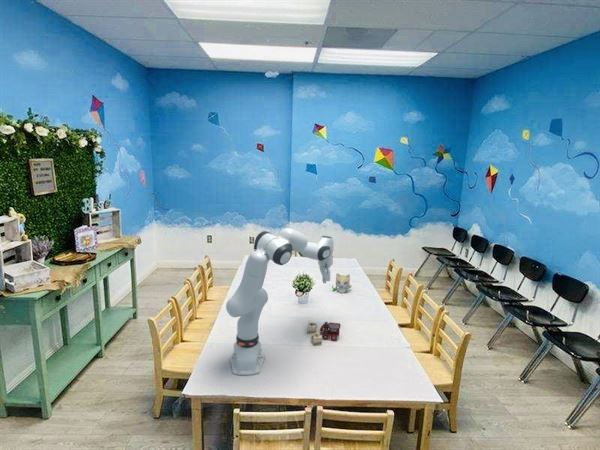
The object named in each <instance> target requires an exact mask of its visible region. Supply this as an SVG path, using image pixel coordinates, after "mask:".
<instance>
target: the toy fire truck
mask: <svg viewBox="0 0 600 450" xmlns="http://www.w3.org/2000/svg"><path fill="white" fill-rule="evenodd" d="M340 329H341V323H340V322H328V321H325V322H324V323H323V324H322V325H321V327H320V328H319V333H320V335H321V337H322V340H328V339H329V338H330V341H332V342H335V341H337V340H338V338H339V337H340Z"/></svg>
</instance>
